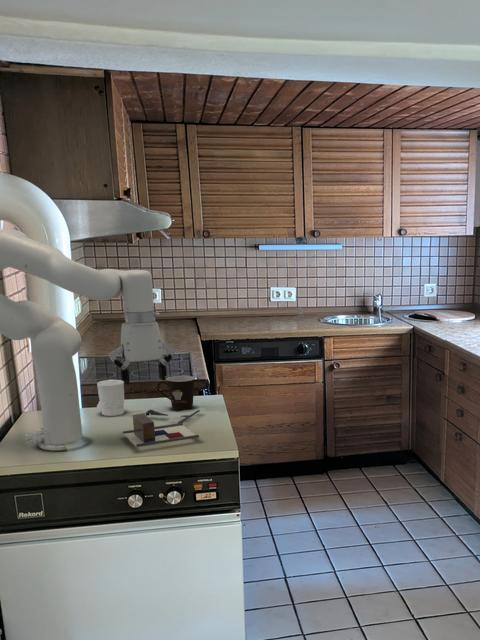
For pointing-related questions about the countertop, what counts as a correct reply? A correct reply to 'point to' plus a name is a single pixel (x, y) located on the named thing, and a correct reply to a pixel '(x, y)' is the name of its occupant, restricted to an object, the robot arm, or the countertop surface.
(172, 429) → the memo board
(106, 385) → the white cup
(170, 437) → the smudge maroon
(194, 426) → the countertop surface
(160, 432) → the smudge navy
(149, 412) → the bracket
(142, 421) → the eraser
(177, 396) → the coffee mug
